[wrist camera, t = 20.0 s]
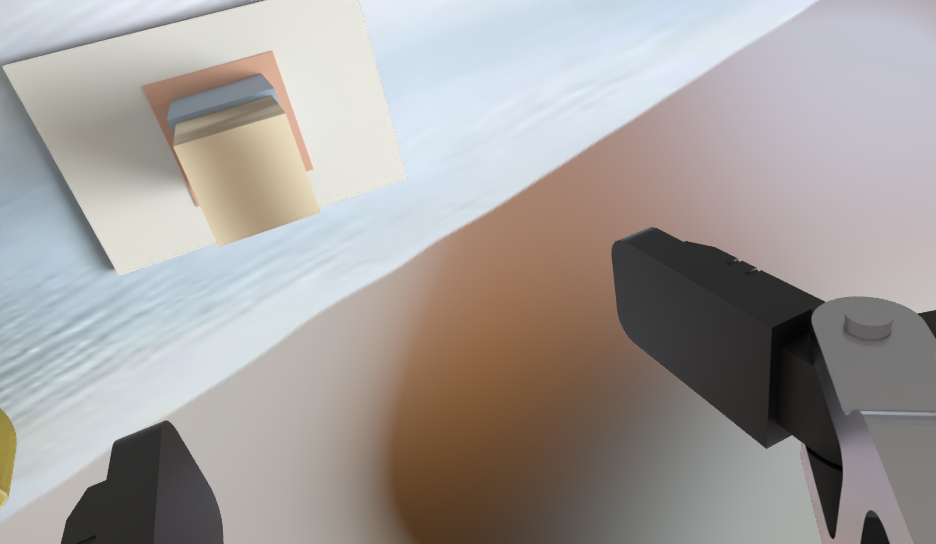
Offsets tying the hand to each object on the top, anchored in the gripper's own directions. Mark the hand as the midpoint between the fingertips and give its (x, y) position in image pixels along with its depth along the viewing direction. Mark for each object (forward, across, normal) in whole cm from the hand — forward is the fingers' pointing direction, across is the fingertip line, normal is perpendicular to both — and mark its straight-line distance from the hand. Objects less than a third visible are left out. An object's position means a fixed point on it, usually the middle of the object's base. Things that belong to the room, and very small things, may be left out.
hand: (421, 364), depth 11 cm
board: (+30, +2, +1) cm, 30 cm away
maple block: (+23, +2, +1) cm, 23 cm away
